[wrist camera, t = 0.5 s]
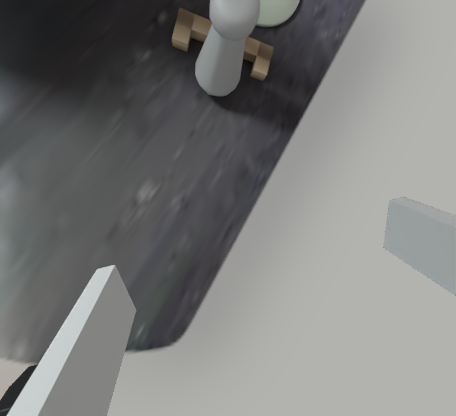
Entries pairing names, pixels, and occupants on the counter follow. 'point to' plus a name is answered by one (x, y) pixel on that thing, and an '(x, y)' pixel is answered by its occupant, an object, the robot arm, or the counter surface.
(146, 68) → the counter surface
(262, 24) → the disc
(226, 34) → the salt shaker
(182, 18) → the oak holder
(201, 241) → the counter surface
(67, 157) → the counter surface
